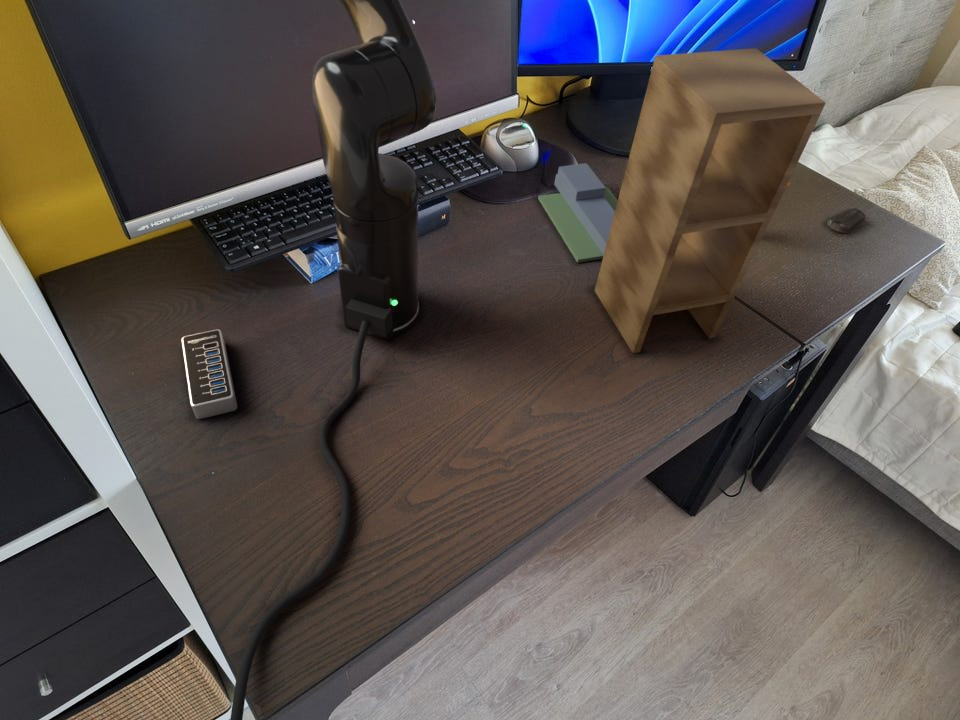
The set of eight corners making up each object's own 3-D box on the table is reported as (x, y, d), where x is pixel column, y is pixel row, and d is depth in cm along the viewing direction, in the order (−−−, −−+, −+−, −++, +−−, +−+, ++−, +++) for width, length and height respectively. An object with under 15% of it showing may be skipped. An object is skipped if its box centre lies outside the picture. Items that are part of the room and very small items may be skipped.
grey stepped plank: (642, 262, 95) (649, 237, 92) (612, 267, 94) (618, 242, 91) (581, 180, 108) (586, 156, 105) (554, 184, 107) (558, 160, 104)
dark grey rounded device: (863, 223, 107) (869, 214, 105) (844, 236, 104) (849, 227, 102) (842, 212, 108) (848, 202, 107) (823, 225, 106) (828, 215, 104)
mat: (652, 251, 98) (653, 248, 98) (577, 262, 95) (578, 259, 95) (607, 190, 108) (607, 186, 108) (538, 198, 105) (538, 195, 105)
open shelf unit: (715, 337, 87) (826, 102, 63) (632, 353, 84) (716, 113, 60) (671, 277, 94) (756, 47, 71) (594, 290, 91) (655, 55, 68)
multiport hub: (196, 420, 73) (190, 407, 71) (185, 349, 79) (180, 336, 78) (238, 409, 74) (233, 396, 72) (224, 341, 81) (220, 328, 79)
